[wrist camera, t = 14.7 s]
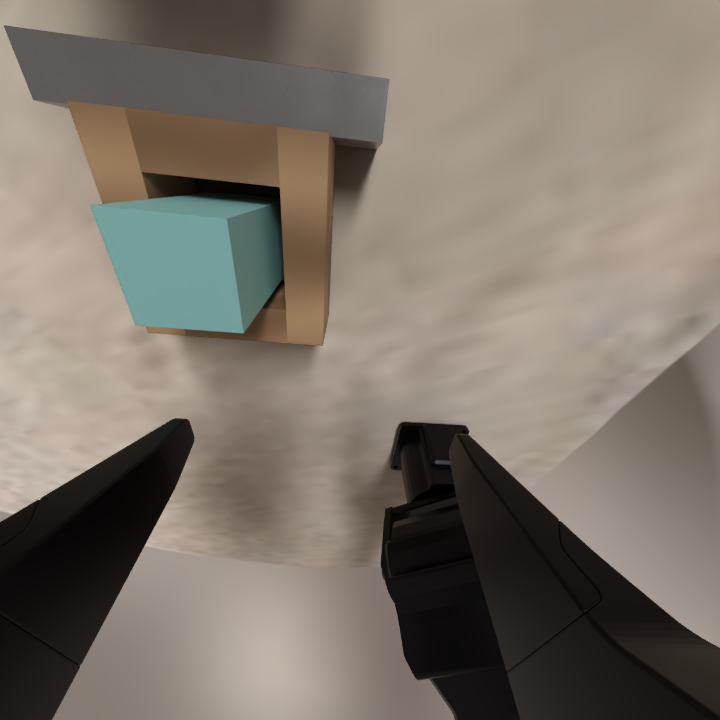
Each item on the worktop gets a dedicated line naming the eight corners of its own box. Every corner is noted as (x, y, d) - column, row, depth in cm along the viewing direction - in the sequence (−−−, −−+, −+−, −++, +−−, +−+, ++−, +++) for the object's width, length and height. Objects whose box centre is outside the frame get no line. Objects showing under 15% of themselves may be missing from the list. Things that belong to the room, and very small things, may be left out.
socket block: (328, 313, 20) (322, 345, 16) (188, 302, 19) (148, 332, 15) (335, 144, 15) (328, 132, 11) (143, 120, 14) (66, 100, 10)
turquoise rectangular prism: (288, 269, 18) (243, 333, 11) (226, 264, 18) (135, 325, 11) (285, 199, 16) (226, 218, 9) (214, 192, 16) (90, 205, 8)
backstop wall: (376, 149, 15) (382, 143, 12) (100, 116, 14) (33, 99, 11) (381, 99, 14) (389, 79, 11) (82, 59, 13) (3, 25, 10)
